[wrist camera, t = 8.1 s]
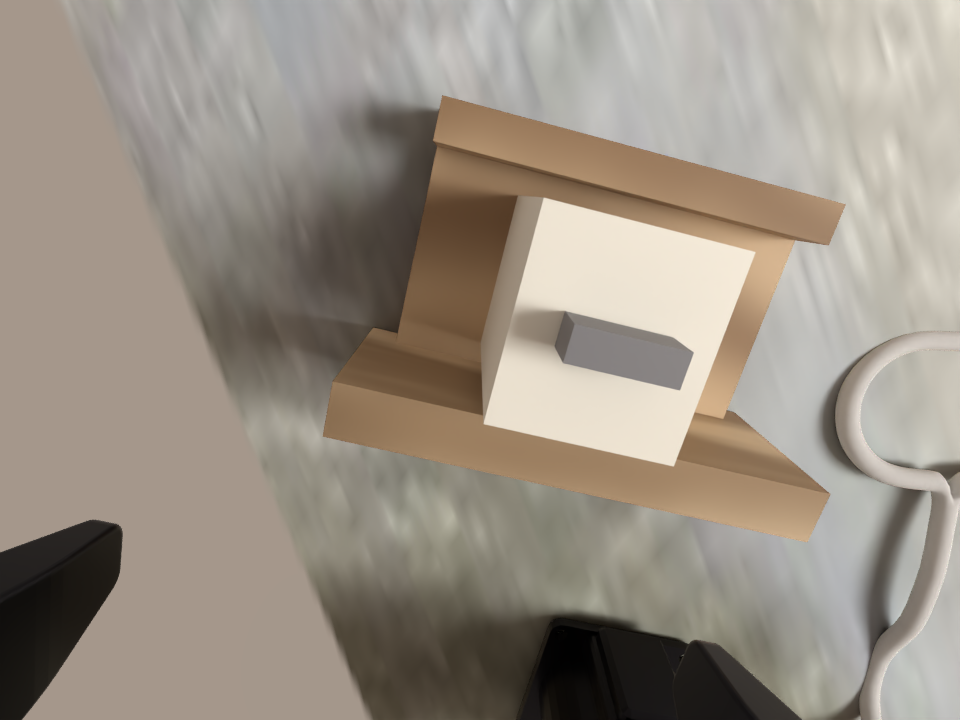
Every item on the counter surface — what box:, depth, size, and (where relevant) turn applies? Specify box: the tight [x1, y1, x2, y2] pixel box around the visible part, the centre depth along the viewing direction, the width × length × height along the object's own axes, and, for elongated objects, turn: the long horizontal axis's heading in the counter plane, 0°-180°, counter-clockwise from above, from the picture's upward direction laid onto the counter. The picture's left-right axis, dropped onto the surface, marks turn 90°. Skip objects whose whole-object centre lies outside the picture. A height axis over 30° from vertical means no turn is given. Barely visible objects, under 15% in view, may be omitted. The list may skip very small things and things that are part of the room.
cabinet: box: [481, 195, 756, 466], centre depth 15 cm, size 5×4×8 cm
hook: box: [835, 331, 960, 720], centre depth 21 cm, size 7×9×20 cm
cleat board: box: [323, 95, 846, 542], centre depth 17 cm, size 9×14×6 cm, turn 76°
